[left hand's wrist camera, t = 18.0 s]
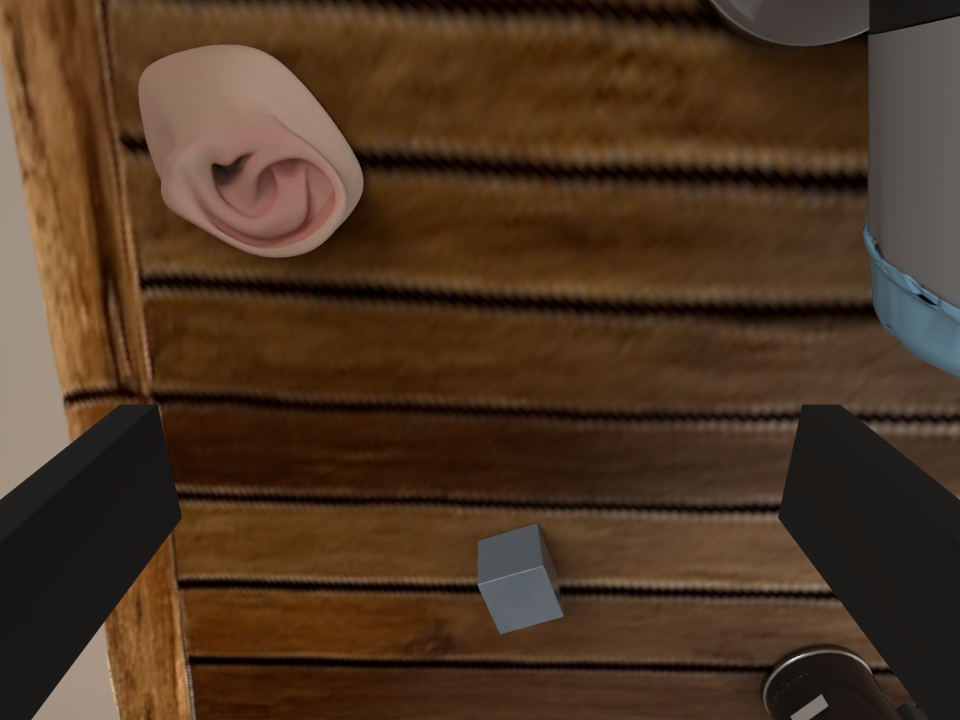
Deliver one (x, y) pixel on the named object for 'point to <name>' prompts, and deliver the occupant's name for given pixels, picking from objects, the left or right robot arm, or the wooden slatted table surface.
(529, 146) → the wooden slatted table surface
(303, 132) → the anatomical model
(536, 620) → the slate cube
